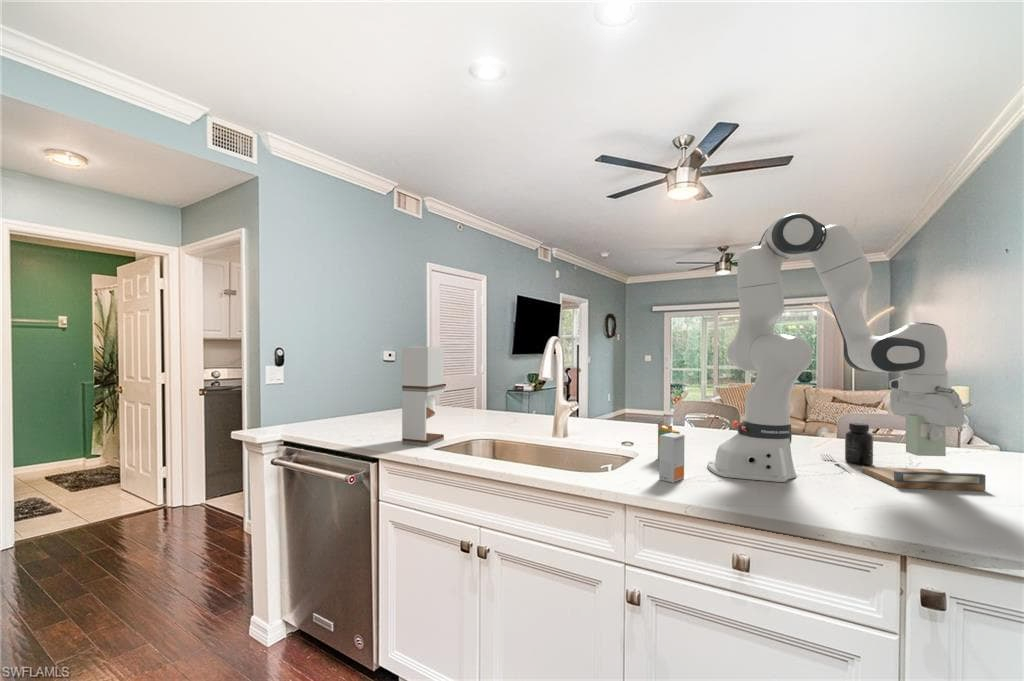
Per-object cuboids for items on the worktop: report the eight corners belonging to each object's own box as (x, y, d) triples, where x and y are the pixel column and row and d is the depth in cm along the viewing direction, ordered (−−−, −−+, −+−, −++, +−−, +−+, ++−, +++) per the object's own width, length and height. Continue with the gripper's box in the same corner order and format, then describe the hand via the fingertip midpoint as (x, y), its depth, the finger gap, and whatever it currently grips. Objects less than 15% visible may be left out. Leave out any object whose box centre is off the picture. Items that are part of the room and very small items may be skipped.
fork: (859, 482, 121) (859, 475, 121) (819, 459, 145) (819, 453, 145) (873, 483, 121) (873, 476, 121) (830, 459, 144) (830, 454, 144)
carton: (945, 456, 116) (945, 416, 116) (917, 455, 117) (917, 416, 117) (933, 452, 120) (932, 414, 120) (905, 451, 121) (905, 414, 121)
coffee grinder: (427, 446, 160) (427, 347, 161) (402, 444, 164) (402, 347, 164) (443, 439, 171) (443, 346, 171) (419, 437, 175) (419, 346, 175)
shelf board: (897, 488, 115) (897, 472, 115) (861, 471, 129) (861, 457, 129) (986, 491, 113) (986, 475, 113) (940, 474, 127) (940, 460, 127)
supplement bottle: (878, 467, 135) (878, 426, 135) (852, 465, 136) (852, 425, 136) (865, 461, 141) (865, 422, 141) (840, 459, 143) (840, 421, 143)
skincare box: (673, 483, 119) (673, 437, 119) (658, 479, 122) (658, 435, 122) (685, 478, 123) (685, 434, 123) (670, 475, 126) (670, 432, 126)
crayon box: (680, 463, 138) (680, 425, 138) (671, 464, 137) (671, 426, 137) (665, 457, 145) (665, 421, 145) (657, 458, 144) (657, 422, 144)
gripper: (973, 389, 107) (973, 447, 107) (909, 381, 128) (909, 430, 128) (943, 389, 108) (943, 447, 108) (884, 381, 129) (885, 430, 129)
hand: (925, 438), depth 118 cm, fingers closed on carton, 4 cm apart
